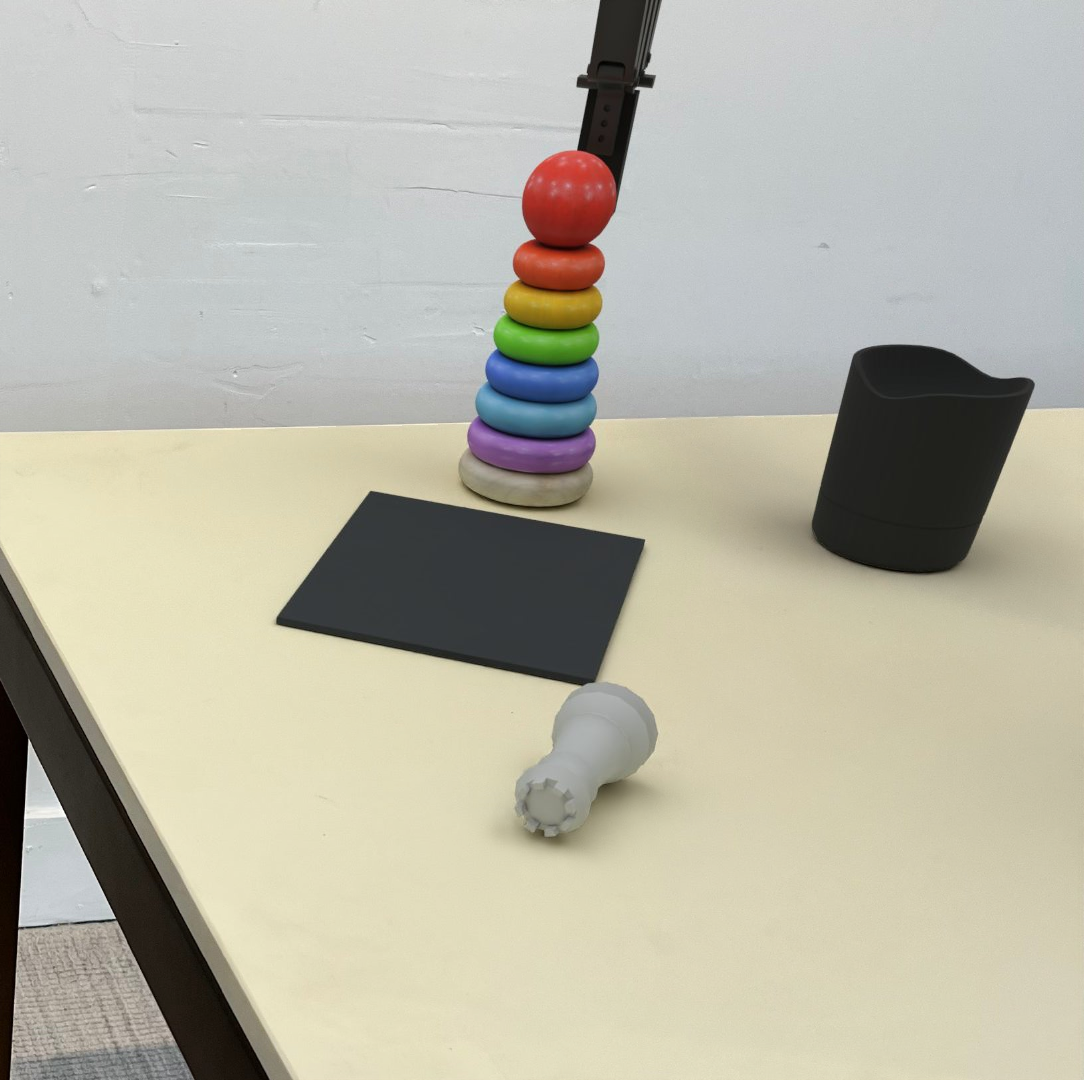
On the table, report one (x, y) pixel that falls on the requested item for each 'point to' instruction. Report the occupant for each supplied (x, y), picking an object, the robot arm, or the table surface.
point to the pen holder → (915, 457)
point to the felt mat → (470, 586)
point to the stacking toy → (546, 345)
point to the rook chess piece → (585, 756)
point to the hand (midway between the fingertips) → (590, 210)
